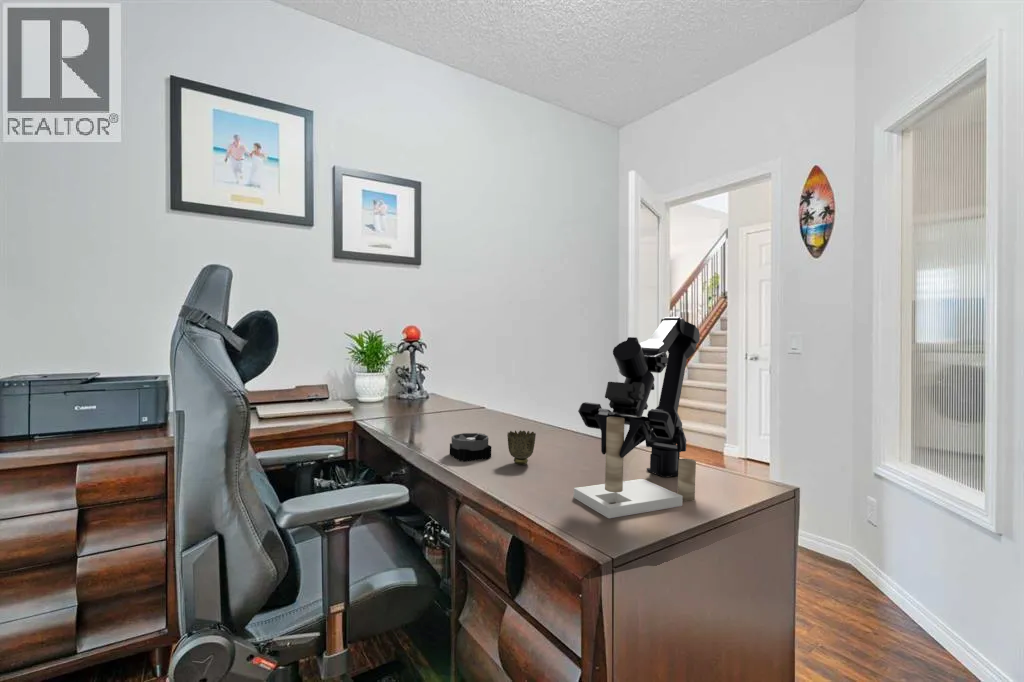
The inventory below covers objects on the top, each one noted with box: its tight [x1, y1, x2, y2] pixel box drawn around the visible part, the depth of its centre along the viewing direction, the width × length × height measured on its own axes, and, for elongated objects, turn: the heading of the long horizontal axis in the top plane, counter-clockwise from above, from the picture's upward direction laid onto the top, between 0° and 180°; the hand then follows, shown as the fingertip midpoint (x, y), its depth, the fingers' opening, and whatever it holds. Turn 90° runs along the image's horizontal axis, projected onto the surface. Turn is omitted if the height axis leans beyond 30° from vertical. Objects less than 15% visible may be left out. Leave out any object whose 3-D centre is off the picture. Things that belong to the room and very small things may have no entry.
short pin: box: [677, 458, 697, 502], centre depth 101 cm, size 3×3×8 cm
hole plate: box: [573, 478, 683, 519], centre depth 98 cm, size 18×12×2 cm, turn 115°
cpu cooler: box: [449, 432, 492, 463], centre depth 131 cm, size 10×6×10 cm
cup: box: [507, 429, 537, 466], centre depth 125 cm, size 8×7×8 cm
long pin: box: [604, 417, 625, 492], centre depth 94 cm, size 3×3×14 cm
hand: (611, 454), depth 93 cm, fingers closed on long pin, 3 cm apart
